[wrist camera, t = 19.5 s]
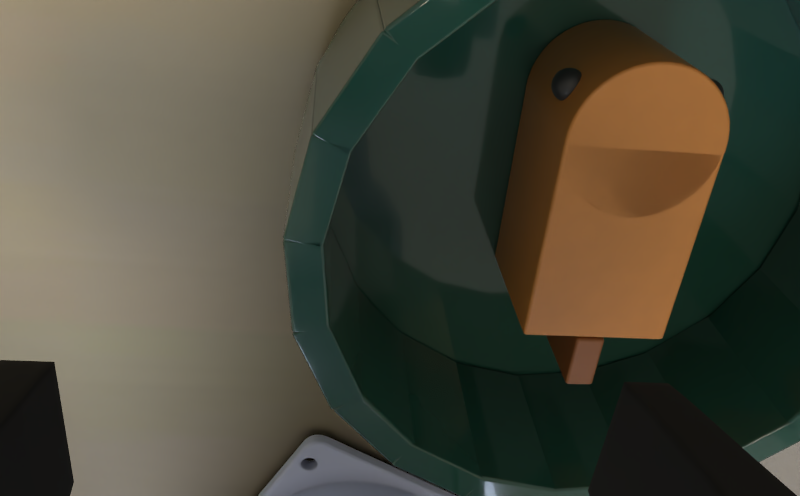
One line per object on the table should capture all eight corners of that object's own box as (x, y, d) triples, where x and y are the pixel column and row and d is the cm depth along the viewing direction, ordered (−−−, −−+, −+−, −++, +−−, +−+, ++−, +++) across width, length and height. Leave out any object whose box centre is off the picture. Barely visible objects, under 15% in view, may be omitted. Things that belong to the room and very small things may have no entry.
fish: (606, 307, 21) (652, 390, 18) (480, 302, 21) (505, 386, 18) (685, 25, 17) (761, 69, 14) (532, 12, 17) (575, 54, 14)
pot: (944, 105, 19) (1118, 185, 15) (582, 444, 25) (634, 576, 20) (541, -284, 15) (628, -331, 10) (197, 242, 20) (158, 358, 15)
